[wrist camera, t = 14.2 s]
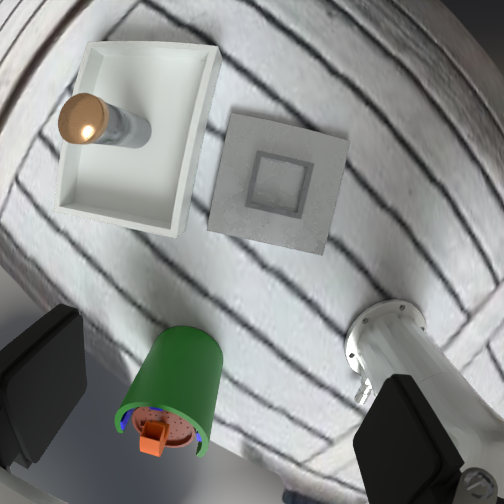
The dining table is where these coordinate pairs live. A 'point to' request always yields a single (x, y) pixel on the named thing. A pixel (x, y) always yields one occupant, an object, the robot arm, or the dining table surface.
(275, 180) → the socket plate
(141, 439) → the motor
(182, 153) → the bin
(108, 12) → the dining table surface
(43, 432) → the robot arm
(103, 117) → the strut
